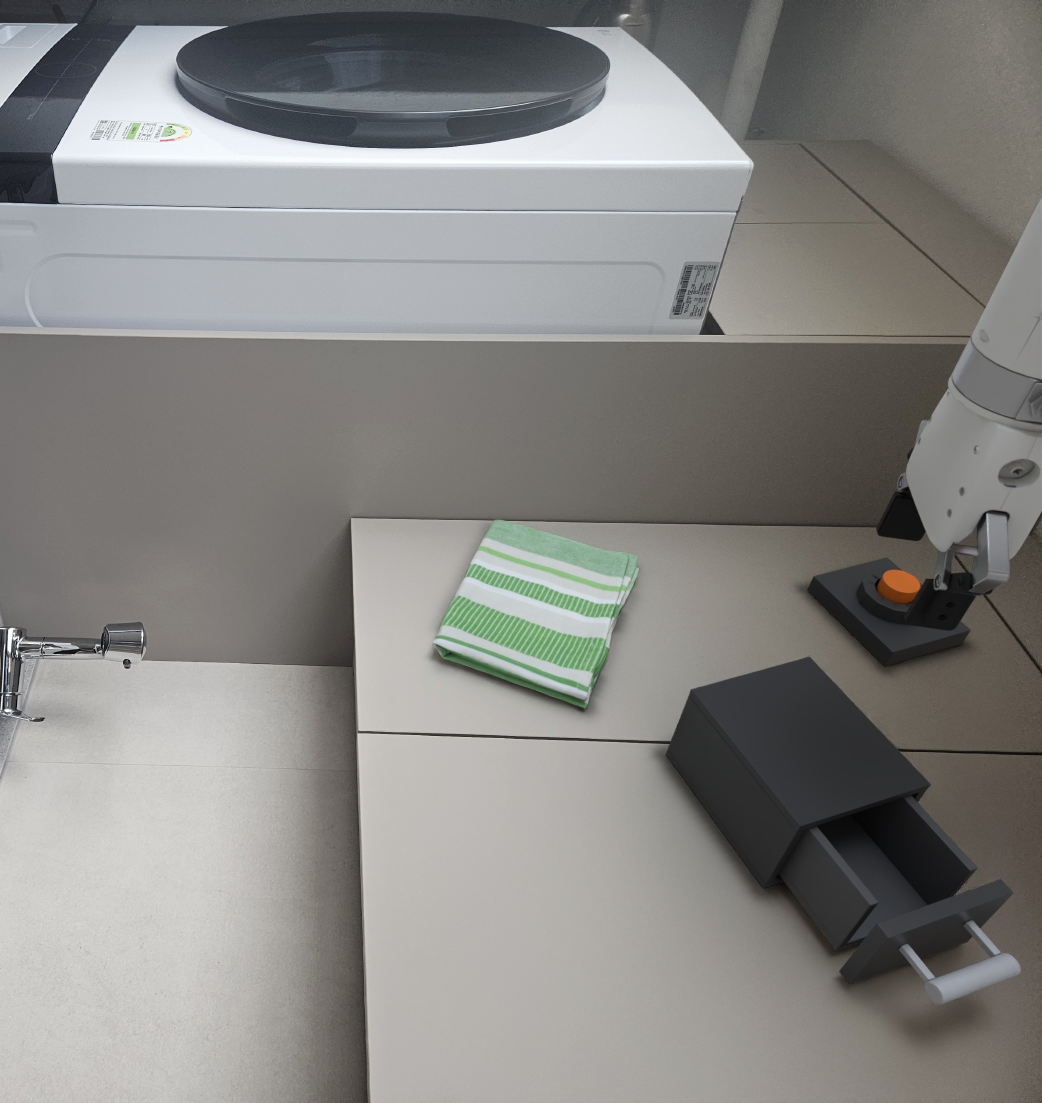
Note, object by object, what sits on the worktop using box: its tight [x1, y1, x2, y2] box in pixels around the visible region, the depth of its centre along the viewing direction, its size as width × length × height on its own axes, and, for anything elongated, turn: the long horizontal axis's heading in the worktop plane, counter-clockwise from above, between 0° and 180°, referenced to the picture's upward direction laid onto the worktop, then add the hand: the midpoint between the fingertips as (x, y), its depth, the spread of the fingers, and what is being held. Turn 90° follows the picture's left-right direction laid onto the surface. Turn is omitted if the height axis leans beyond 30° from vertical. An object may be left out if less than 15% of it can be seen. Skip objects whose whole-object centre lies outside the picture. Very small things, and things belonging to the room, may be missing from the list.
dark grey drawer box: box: [665, 656, 932, 889], centre depth 84 cm, size 15×13×10 cm
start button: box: [877, 570, 921, 604], centre depth 102 cm, size 4×4×2 cm
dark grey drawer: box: [778, 795, 1022, 1006], centre depth 76 cm, size 18×11×8 cm, turn 18°
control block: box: [806, 556, 972, 667], centre depth 103 cm, size 12×10×4 cm
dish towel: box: [432, 519, 640, 709], centre depth 105 cm, size 18×23×3 cm
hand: (911, 578), depth 71 cm, fingers open, 9 cm apart
